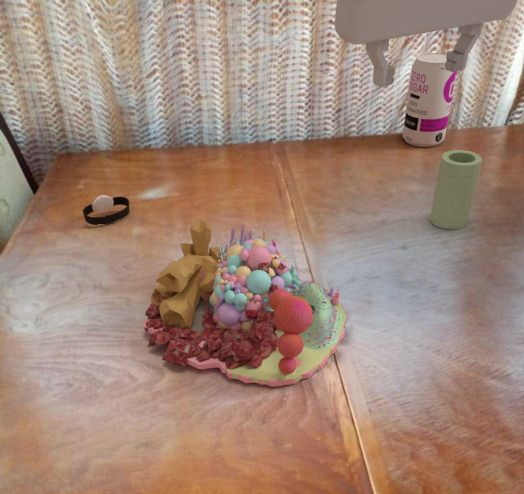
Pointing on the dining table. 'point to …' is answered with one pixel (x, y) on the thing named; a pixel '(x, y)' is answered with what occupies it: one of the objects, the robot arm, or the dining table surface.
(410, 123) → the supplement can
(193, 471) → the dining table surface
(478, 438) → the dining table surface
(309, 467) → the dining table surface
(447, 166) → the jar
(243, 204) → the dining table surface
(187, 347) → the pastel sphere sculpture
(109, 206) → the watch
